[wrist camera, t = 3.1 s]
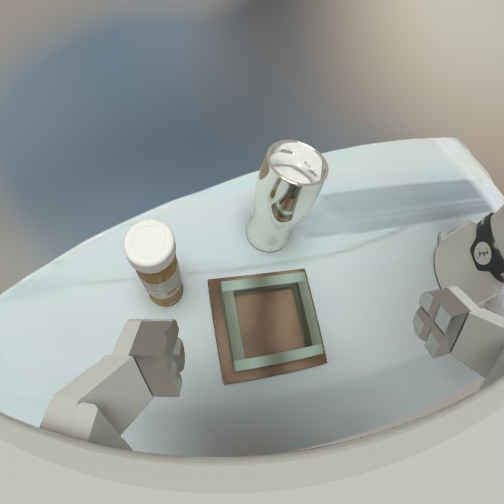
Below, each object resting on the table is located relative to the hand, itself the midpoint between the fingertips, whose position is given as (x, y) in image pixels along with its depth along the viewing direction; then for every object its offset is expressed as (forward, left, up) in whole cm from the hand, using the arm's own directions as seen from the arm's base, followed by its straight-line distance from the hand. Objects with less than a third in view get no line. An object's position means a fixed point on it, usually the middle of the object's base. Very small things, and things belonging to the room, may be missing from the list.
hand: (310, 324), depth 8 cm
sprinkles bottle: (+7, -10, -26) cm, 29 cm away
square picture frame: (-5, -4, -26) cm, 27 cm away
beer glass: (-8, -17, -26) cm, 32 cm away
